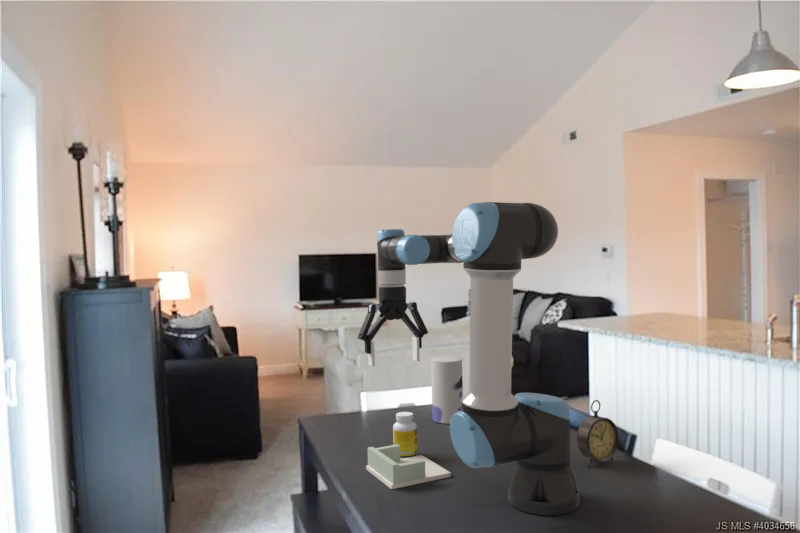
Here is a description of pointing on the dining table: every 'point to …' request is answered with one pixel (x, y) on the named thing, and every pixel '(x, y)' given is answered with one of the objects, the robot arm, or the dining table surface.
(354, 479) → the dining table surface
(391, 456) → the dock
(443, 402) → the container
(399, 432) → the pill bottle
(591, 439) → the alarm clock
